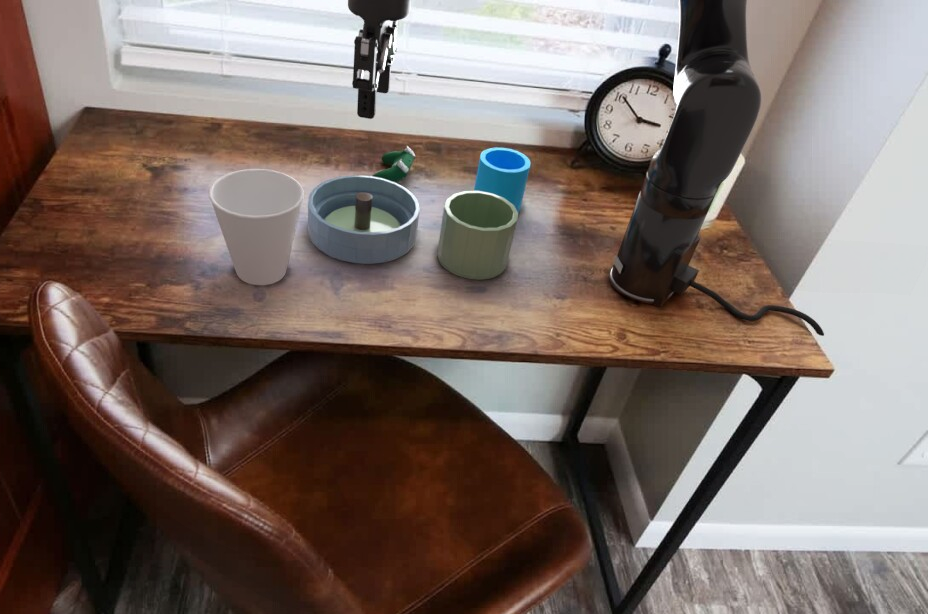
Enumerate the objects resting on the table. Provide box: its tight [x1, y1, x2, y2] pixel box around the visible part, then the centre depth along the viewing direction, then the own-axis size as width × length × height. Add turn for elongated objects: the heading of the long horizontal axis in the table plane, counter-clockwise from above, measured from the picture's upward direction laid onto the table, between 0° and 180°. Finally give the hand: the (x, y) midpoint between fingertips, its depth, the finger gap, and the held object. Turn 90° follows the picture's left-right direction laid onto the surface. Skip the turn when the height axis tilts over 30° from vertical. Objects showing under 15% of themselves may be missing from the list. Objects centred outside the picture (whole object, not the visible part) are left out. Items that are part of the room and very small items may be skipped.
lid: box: [325, 192, 400, 232], centre depth 104 cm, size 11×11×6 cm
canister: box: [436, 190, 519, 281], centre depth 102 cm, size 10×10×8 cm
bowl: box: [307, 174, 421, 265], centre depth 104 cm, size 16×16×6 cm
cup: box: [208, 168, 305, 286], centre depth 93 cm, size 12×12×12 cm
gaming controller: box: [372, 145, 416, 183], centre depth 119 cm, size 9×4×6 cm
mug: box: [473, 147, 531, 213], centre depth 116 cm, size 12×8×8 cm
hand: (373, 103), depth 93 cm, fingers open, 8 cm apart
